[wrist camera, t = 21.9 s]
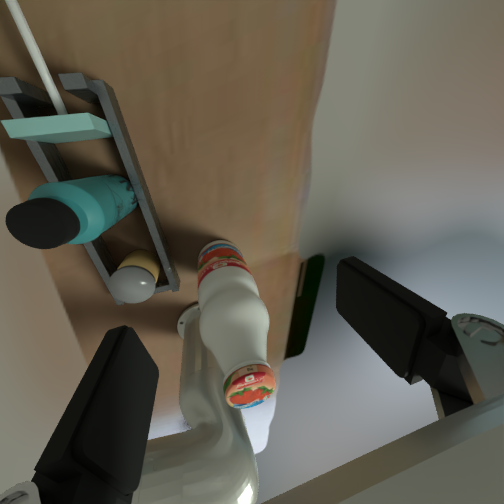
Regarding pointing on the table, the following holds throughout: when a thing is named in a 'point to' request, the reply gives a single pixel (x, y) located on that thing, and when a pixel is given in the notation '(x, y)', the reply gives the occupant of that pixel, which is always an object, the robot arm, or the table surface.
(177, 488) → the robot arm
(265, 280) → the table surface
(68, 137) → the pusher
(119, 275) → the jar
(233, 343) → the fruit juice
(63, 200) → the beverage bottle
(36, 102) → the lane
